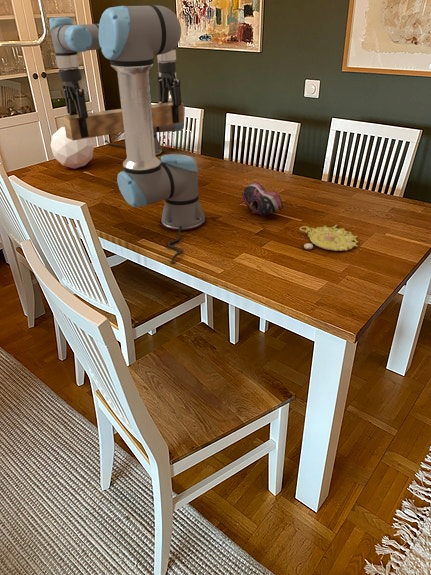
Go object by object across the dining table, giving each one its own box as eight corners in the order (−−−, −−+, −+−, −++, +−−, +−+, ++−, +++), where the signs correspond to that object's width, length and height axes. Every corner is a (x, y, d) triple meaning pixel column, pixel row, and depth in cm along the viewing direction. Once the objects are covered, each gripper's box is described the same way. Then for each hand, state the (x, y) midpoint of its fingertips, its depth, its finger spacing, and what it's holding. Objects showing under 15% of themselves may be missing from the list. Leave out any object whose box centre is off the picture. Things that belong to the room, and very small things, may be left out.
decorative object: (343, 255, 128) (285, 234, 139) (342, 262, 130) (284, 241, 140) (372, 230, 142) (317, 213, 152) (371, 237, 143) (316, 219, 153)
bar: (72, 140, 165) (69, 119, 161) (66, 137, 169) (62, 116, 164) (184, 122, 192) (183, 103, 188) (176, 120, 196) (175, 101, 192)
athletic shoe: (254, 181, 170) (227, 189, 167) (283, 176, 151) (253, 185, 147) (260, 210, 173) (234, 218, 170) (290, 209, 154) (261, 219, 150)
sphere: (81, 183, 214) (66, 157, 195) (51, 163, 218) (34, 136, 200) (107, 156, 219) (95, 128, 200) (77, 137, 223) (63, 108, 205)
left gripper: (188, 62, 174) (191, 123, 187) (161, 58, 186) (166, 116, 199) (172, 64, 170) (177, 126, 183) (146, 60, 182) (152, 119, 195)
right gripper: (90, 69, 152) (101, 138, 165) (68, 65, 164) (80, 129, 177) (69, 72, 148) (82, 142, 161) (48, 67, 161) (62, 132, 173)
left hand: (171, 121), depth 191 cm, fingers closed on bar, 6 cm apart
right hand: (81, 135), depth 169 cm, fingers closed on bar, 6 cm apart
